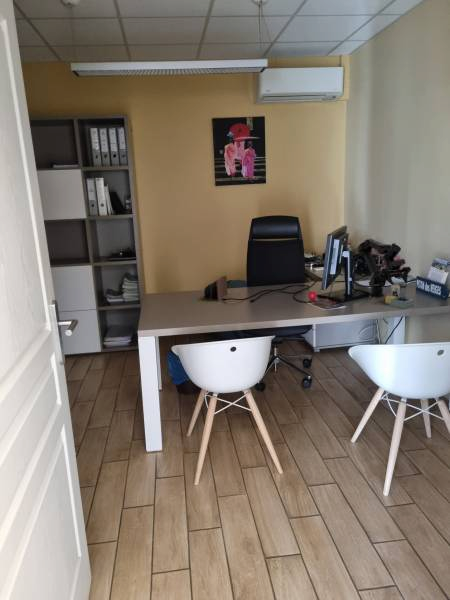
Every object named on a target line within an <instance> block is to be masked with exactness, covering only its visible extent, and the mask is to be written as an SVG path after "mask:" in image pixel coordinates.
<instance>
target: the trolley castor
mask: <svg viewBox="0 0 450 600" xmlns="http://www.w3.org/2000/svg"><path fill="white" fill-rule="evenodd" d="M390 288H391V294H390V296H395V297H397V298H398V297H399V292H400V286H399V285H398V284H396V285H392V284H391V285H390ZM395 288H398V289H397V291H396V289H395Z"/></svg>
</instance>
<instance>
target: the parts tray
mask: <svg viewBox="0 0 450 600" xmlns="http://www.w3.org/2000/svg"><path fill="white" fill-rule="evenodd" d="M414 300H415V299H413V298H407V297H406V301H405V302H403V301H399V297H398V298H395V299H391V304H390V307H394V308H399V309H404V310H405V309H408V308H411V307H414Z"/></svg>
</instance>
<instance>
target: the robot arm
mask: <svg viewBox="0 0 450 600" xmlns="http://www.w3.org/2000/svg"><path fill="white" fill-rule="evenodd" d="M373 249H374V250H376V252H377V254H379V255H383V256H382V257H381V261H383V262H384V263H385V267H384V268H381V270H379V267H378V266H377V264H376V261H375V259H374V257H373V255H372V251H373ZM401 251H402V248H401V247H400V246H399V245H397V244H396V243H391V244H387V243H381V242H379V241H377V240H375V239H373V238H367V239H366V240H364V241H363V242H361V243H360V244H359V245H358V246H357V252H358V254H359V256H360V257H362V258H364V261H365V263H366V266H367V267H368V269H369V271H370V273H371V277H370V280H369V282H368V285H369V287H371V288H370V289H371V290H370V293H369V296H373V297H382V296H384V295H385V294H384V288H383V287H385V286H386V282H387V283H389V284H390V285H391V286H392V285H393V282H394V281H393V279H392V277H391V275H392V274H400V277H401V278H402V280H403V283H404V284H407V282H408V274H409V273H410V272H411V271H412V269H411V266H404V265H405V264H406V260H405V258H401V259H395V258H397V256H398V255H399V253H400V252H401ZM401 267H402V268H401Z"/></svg>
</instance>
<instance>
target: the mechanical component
mask: <svg viewBox="0 0 450 600" xmlns="http://www.w3.org/2000/svg"><path fill="white" fill-rule="evenodd" d="M399 284H404V281H393V285H399ZM409 286H410V282H408V281H407V287H406V290H407V289H409ZM395 290H398V288H395Z"/></svg>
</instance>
